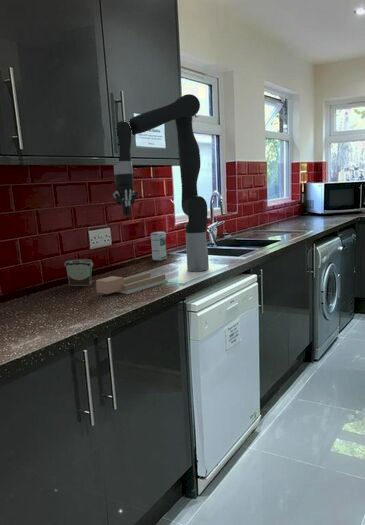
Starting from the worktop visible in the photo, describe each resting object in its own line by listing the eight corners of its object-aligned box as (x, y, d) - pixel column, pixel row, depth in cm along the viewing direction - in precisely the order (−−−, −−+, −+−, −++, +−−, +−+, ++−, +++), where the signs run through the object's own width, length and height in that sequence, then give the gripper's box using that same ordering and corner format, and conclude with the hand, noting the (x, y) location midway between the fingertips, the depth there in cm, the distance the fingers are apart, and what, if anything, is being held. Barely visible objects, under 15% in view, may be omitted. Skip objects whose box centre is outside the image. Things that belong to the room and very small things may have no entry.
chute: (146, 279, 184) (145, 272, 184) (167, 281, 177) (167, 274, 176) (106, 290, 168) (105, 282, 167) (127, 294, 160) (127, 286, 160)
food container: (100, 282, 183) (98, 258, 181) (93, 285, 177) (91, 261, 175) (73, 281, 186) (71, 258, 184) (66, 285, 180) (63, 261, 178)
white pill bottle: (160, 260, 227) (159, 232, 225) (152, 259, 231) (150, 232, 228) (167, 258, 232) (166, 231, 229) (159, 258, 235) (157, 231, 233)
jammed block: (113, 287, 166) (112, 276, 166) (124, 289, 163) (123, 277, 162) (96, 292, 160) (95, 280, 160) (107, 294, 157) (106, 281, 156)
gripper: (129, 173, 185) (131, 214, 188) (105, 173, 175) (108, 217, 178) (141, 172, 180) (144, 214, 184) (117, 172, 171) (121, 217, 174)
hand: (126, 215), depth 181 cm, fingers closed
